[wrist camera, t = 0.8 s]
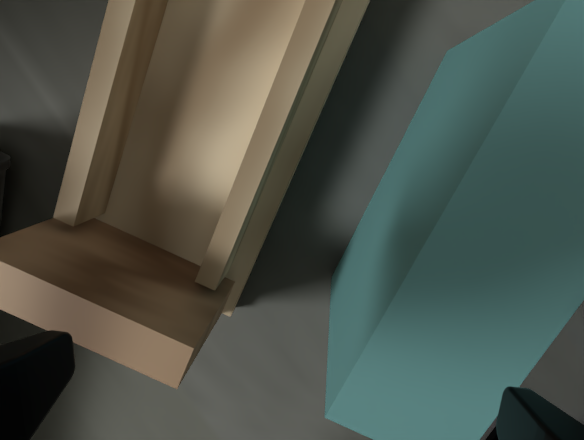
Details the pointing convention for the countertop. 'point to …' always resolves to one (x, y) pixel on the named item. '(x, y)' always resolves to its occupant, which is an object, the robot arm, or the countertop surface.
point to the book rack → (176, 172)
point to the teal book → (467, 238)
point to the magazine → (3, 176)
